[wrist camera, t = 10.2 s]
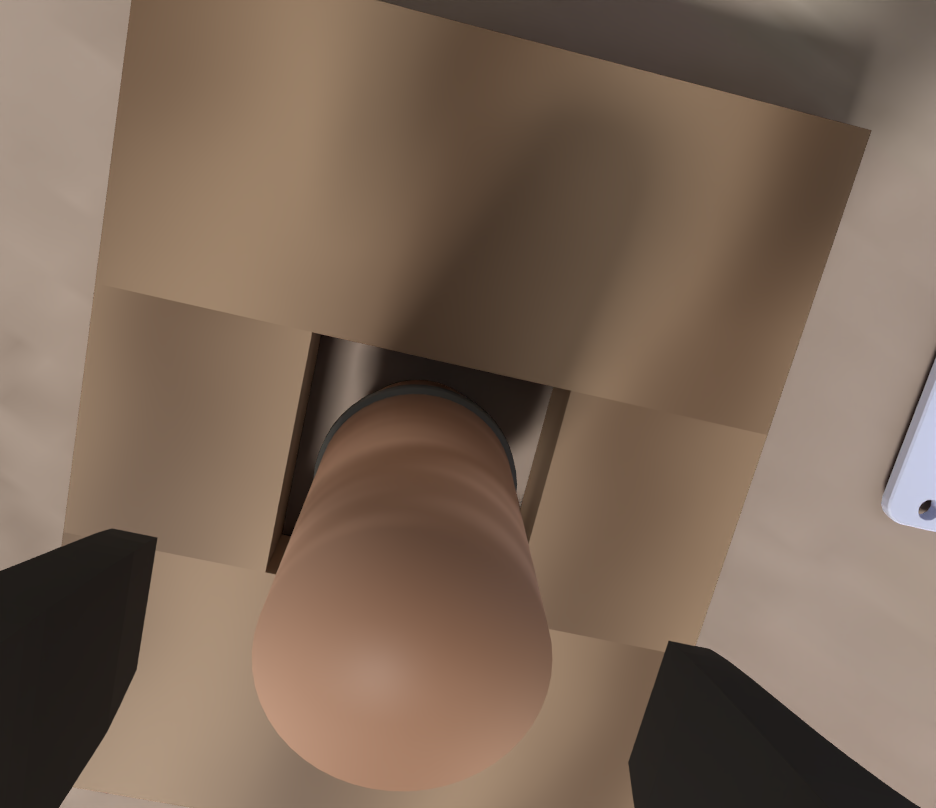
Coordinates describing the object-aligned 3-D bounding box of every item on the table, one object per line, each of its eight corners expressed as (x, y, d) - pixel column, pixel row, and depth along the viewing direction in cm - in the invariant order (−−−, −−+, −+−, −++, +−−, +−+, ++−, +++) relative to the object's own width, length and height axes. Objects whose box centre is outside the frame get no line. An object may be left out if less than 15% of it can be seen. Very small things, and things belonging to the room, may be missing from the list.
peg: (528, 386, 20) (597, 555, 11) (483, 550, 21) (514, 822, 12) (348, 343, 20) (276, 486, 11) (311, 513, 21) (219, 766, 12)
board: (827, 133, 19) (871, 130, 17) (600, 821, 23) (614, 880, 21) (172, -37, 17) (139, -63, 15) (67, 726, 22) (31, 780, 20)
